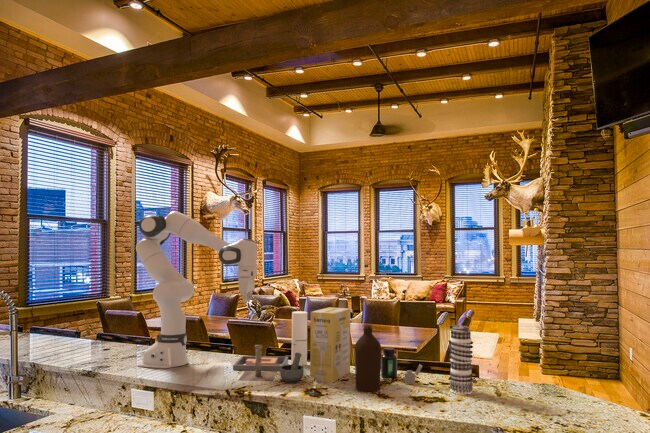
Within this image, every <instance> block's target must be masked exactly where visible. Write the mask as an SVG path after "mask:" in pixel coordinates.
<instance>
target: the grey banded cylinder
mask: <svg viewBox="0 0 650 433" xmlns="http://www.w3.org/2000/svg"><path fill="white" fill-rule="evenodd" d="M449 331H450V337H449V338H450V339H449V340H448V348H449V349H448V352H449V356H448V357H449V361H450V372H449V375H450V376H449V379H450V381H449V389H450V390H449V392H450V391H451V392H450V393H452V392H454V393H458V394H470V395H472V394H473V393H472V391H473V390H474V389H473V388H474V387H473V384H474V383H473V382H472V381H473V374H472V371H473V370H472V363H473V360H472V359H471V358H473V357H474V356H473V355H472V354H473V350H471V349H473V348H474V346H473V344H474V342H473V341H472V338H471V337H472V336H471V335H472V334H471V332H472V329H470V328H469V326H467V325H462V324H456V325H452V327H451V328H449ZM454 393H453V394H454ZM471 393H472V394H471ZM458 394H457V395H458Z"/></svg>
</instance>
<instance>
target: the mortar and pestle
mask: <svg viewBox="0 0 650 433" xmlns="http://www.w3.org/2000/svg"><path fill="white" fill-rule="evenodd" d="M301 355H302V354H300V353H295V358H294V361H293V364H292V365H291V364H288V365H284V366H281V365H280V366H281V367H280V371H279V373H280V374H279V375H280V378H281V380H282V381H283V382H284V383H286V384H297V383H299V382H300V381H301V380H302V378H303V376H304V373H305V371H304V370H305V369H304V365H303V366H300V365H299V362H300V357H301Z"/></svg>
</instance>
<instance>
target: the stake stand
mask: <svg viewBox="0 0 650 433" xmlns="http://www.w3.org/2000/svg"><path fill="white" fill-rule="evenodd" d="M254 349H255V356H256V364H255V370H244V371H243V373H242V375H241V376H240V377H238V378H239V379H237V381H243V382H244V381H245V382H247V381H248V382H273V381H274V379H275V377H276V375H277V373H278V371H261V356H262V352H263V351H262V350H263V344H255V345H254Z"/></svg>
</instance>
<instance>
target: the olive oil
mask: <svg viewBox="0 0 650 433" xmlns="http://www.w3.org/2000/svg"><path fill="white" fill-rule="evenodd" d="M353 350H354V352H353V353H354V371H355V372H354V373H355V390H356V391H358V392H361V393H368V392H370V393H377V392H378V391H380V390H381V356H382V352H383V351H382V346H381V343H380V341H379V340H378V339H377V338H376V336H375V335H374V334H373V325H372V323H364V324H363V334H362V335H361V337H359V339H358V340H356V342H355V345H354V349H353Z"/></svg>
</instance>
